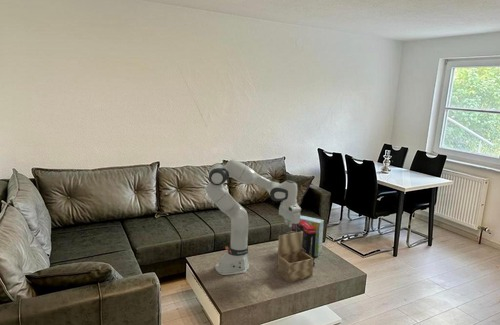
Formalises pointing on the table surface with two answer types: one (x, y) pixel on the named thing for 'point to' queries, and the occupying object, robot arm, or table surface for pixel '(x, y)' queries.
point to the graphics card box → (307, 237)
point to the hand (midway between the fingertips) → (288, 225)
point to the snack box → (319, 232)
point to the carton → (295, 265)
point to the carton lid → (290, 242)
